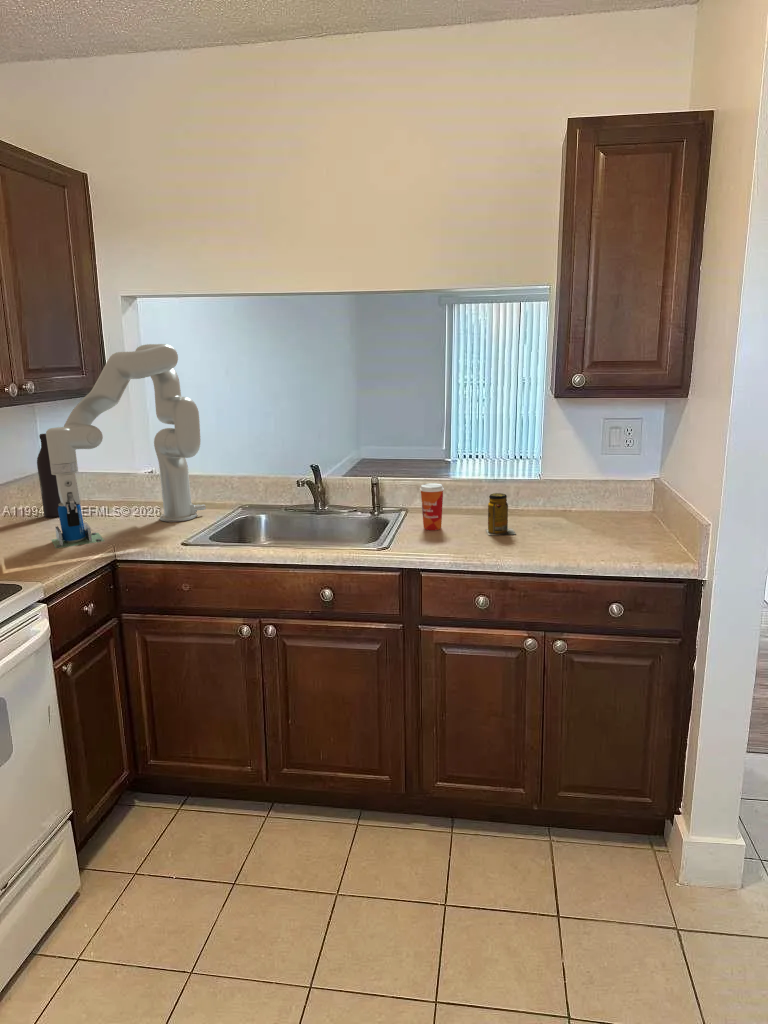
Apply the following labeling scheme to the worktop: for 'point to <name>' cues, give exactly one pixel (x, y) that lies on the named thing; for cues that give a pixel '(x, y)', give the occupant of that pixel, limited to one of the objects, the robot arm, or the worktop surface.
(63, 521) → the beverage can
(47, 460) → the wine bottle
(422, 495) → the paper cup
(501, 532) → the condiment
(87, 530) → the bracket
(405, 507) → the worktop surface
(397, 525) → the worktop surface
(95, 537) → the deck plate
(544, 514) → the worktop surface
